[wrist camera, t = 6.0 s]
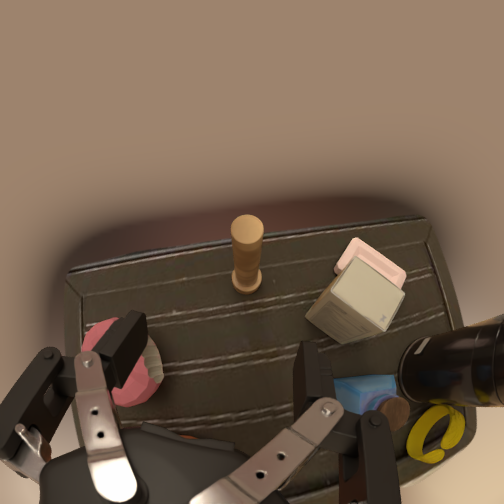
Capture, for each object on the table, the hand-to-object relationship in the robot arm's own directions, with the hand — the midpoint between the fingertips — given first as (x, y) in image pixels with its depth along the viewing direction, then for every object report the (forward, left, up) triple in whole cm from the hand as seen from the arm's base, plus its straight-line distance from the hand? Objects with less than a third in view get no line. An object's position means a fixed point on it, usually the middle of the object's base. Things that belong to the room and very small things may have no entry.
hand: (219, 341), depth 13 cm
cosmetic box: (-12, -4, -20) cm, 23 cm away
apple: (+12, +2, -20) cm, 23 cm away
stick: (-2, -9, -19) cm, 21 cm away
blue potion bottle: (-14, +7, -20) cm, 25 cm away
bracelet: (-27, +16, -16) cm, 35 cm away
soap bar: (-18, -9, -19) cm, 28 cm away
